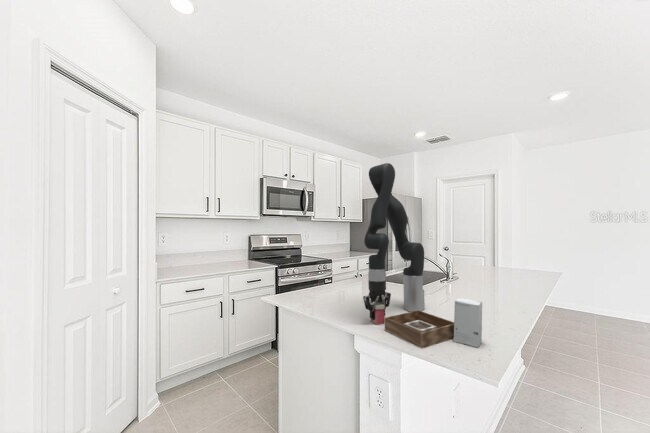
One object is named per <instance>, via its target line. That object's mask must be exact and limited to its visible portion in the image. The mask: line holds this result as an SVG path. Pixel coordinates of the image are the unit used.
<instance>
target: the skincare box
mask: <svg viewBox="0 0 650 433" xmlns="http://www.w3.org/2000/svg"><path fill="white" fill-rule="evenodd" d="M453 314H454V317H453V318H454V321H453V322H454V338H453V341H454V342H455V343H459V344H463V345H467V346H471V347H474V348H479V347H480V346H481V344H482V340H483V339H482V337H483V334H482V332H483V302H482V301H478V300H474V299H468V298H467V299H466V298H461V297H458V298H457V299H455V300H454V313H453Z"/></svg>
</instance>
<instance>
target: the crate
mask: <svg viewBox="0 0 650 433" xmlns="http://www.w3.org/2000/svg"><path fill="white" fill-rule="evenodd" d="M384 319H385V323H384V331H386V332H387V333H389V334H392V335H394V336H395V337H398V338H400V339H402V340H404V341H406V342H408V343H410V344H411V345H412V344H413V345H414V346H416V347H419V348H421V349H424V348H427V347H431V346H433V344H434V345H436V344H439V343H443V342H446V341H449V340H452V339H454V321H451V320H448V319H447V318H446V319H445V318H442V317H440V316H436V315H434V314H430V313H428V312H425V311H419V310H416V311H412V312H411V311H408V312H404V313H399V314H396V315H391V316H385V317H384ZM430 345H431V346H430Z"/></svg>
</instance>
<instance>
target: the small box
mask: <svg viewBox="0 0 650 433" xmlns="http://www.w3.org/2000/svg"><path fill="white" fill-rule="evenodd" d="M372 307H373V306H372ZM374 311H375V320H372V319H371V318H370V321H371V322H372V323H373V324H375V325H383V324H384V325H385V317H384V305H383V304H381V303H377V306H375V310H374Z"/></svg>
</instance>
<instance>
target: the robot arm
mask: <svg viewBox="0 0 650 433" xmlns="http://www.w3.org/2000/svg"><path fill="white" fill-rule="evenodd" d="M368 177H369V178H368V179H369V181H370V184H371V185H372V187H373V189H374V192H375V193H376V195H377V197H376V199H375V202H374V203H373V205H372V208H371V211H370V223H369V225H368V228H367V231H366V233H365V236H364V241H363V244H364V246H365V248H367V249H368V250H377V253H376V254H370V255H369V256H368V272H367V274H368V275H367V276H368V278H367V280H368V290H369V292H368V295H364V296H362V298H363V303H364V307H365V310H368V311H369V318H370V320H371V319H372V320H375V311H374V310H375V306H377V303H381V304H383V305H384V318H386V309H387V308H388V307H390V303H391V302H390V301H391V298H392V297H391V296H392V293H390V292H387V291H386V290H387V273H386V256H387V252H388V248H389V244H390V239H389V236H388V234H386V233H384V232H383V233H382V232H380V233H379V232H378V231H379V230H383V229H385V228H386V227H387V222H388V223H389V226H390V228H391V231H392V233H393V237H394V239H395V243H396V247H397V250H398V252H399V255H400V257H401V258H402V259H403V260H405V261H409V262H410V264H409V266H408V267H404V268H403V271H402V272H403V274H402V275H403V279H402V280H403V282H402V283H403V309H404V310H405V311H408V312H412V311H416V310H419V311H422V312H424V311H425V306H426V305H425V304H426V303H425V290H424V285H423V284H424V282H423V281H424V280H423V279H424V277H423V275H424V274H423V271H424V268H425V249H424V246H423V244H422V243H420V242H414V241H413V242H411V241H409V239H408V237H407V233H406V232H407V231H406V230H407V226H408V222H409V220H408V215H407V212H406V209H405V207H404V205H403V203H402V202H401V201H400V200H399V199H398V198H396V196H394V195H393V194H392V191H393V189H394V188H393V187H394V184H395V178H396V169H395V167H394V166H393V164H391V163H390V162H389V163H388V162H386V163H381V164H379V165H375V166H372V167H371V168H369V170H368ZM372 306H373V307H372Z"/></svg>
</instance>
